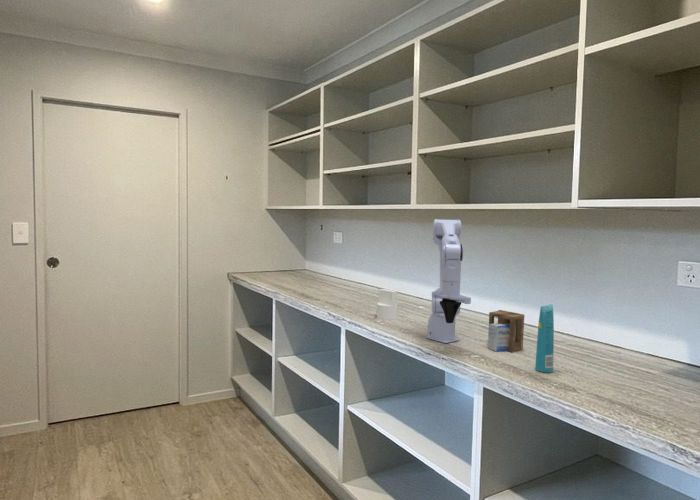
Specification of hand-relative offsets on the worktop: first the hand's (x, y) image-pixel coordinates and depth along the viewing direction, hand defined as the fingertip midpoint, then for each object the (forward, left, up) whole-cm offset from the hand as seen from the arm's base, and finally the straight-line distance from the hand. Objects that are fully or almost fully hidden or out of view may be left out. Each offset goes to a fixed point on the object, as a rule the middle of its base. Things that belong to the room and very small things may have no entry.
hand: (449, 322), depth 158 cm
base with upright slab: (-52, +21, -10) cm, 57 cm away
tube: (+28, +9, -10) cm, 31 cm away
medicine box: (+7, +19, -10) cm, 22 cm away
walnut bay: (+7, +21, -10) cm, 24 cm away
